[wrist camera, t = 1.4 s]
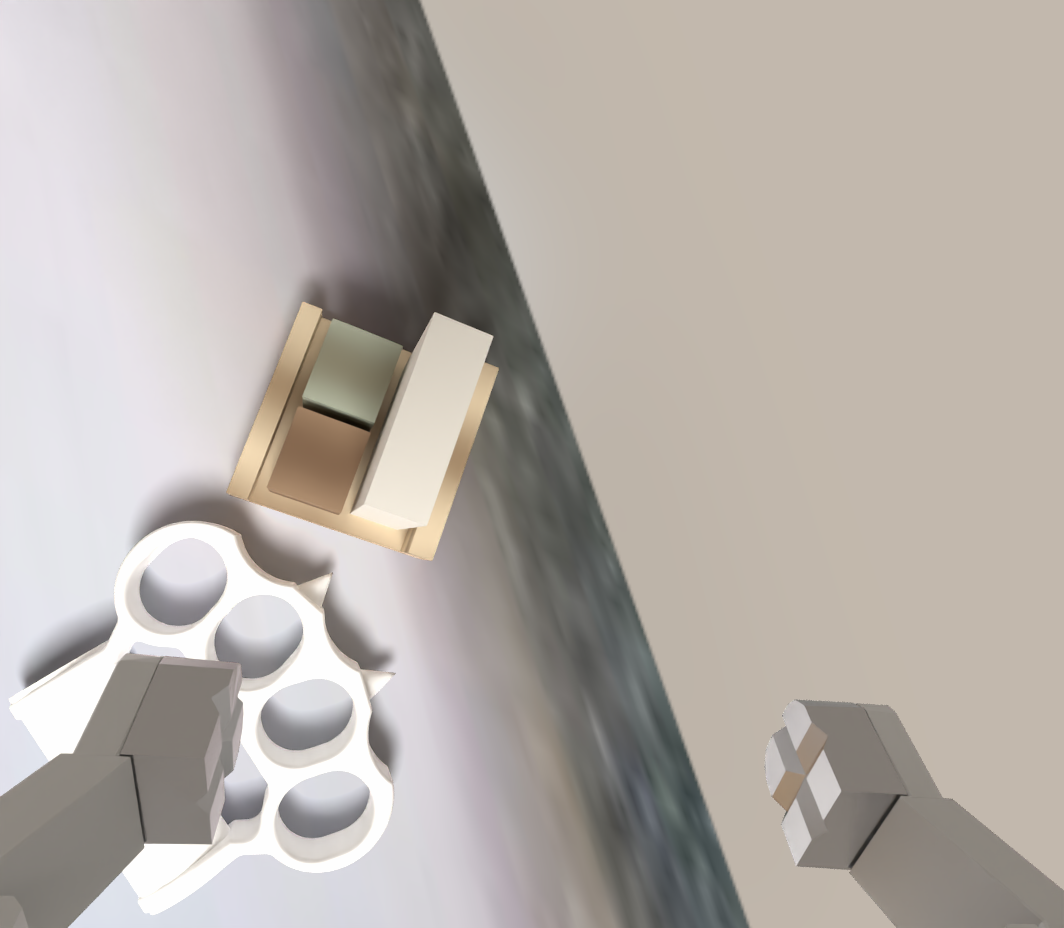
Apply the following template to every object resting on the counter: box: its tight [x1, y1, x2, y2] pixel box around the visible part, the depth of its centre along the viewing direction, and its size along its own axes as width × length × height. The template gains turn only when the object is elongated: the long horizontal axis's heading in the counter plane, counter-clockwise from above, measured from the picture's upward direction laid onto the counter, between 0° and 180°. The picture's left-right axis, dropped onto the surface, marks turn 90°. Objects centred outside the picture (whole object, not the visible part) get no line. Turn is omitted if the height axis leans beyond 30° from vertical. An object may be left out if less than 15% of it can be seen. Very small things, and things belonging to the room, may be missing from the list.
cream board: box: [350, 312, 493, 530], centre depth 36 cm, size 8×2×11 cm, turn 161°
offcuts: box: [267, 318, 403, 515], centre depth 39 cm, size 8×4×4 cm, turn 161°
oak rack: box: [226, 302, 499, 561], centre depth 40 cm, size 10×10×4 cm
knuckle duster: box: [8, 521, 396, 915], centre depth 38 cm, size 3×18×15 cm
